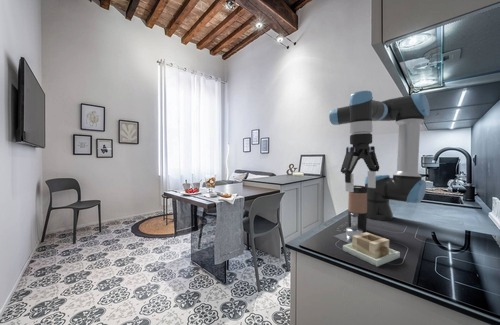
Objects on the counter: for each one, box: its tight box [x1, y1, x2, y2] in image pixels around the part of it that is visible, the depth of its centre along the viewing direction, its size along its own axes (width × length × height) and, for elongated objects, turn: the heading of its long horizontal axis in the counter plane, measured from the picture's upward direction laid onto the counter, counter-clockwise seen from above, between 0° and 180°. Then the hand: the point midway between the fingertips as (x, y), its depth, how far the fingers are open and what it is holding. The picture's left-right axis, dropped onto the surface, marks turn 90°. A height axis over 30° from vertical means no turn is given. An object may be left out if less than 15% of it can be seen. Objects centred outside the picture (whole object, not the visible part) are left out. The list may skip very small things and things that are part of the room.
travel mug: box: [347, 185, 368, 233], centre depth 96 cm, size 8×8×20 cm
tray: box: [342, 243, 401, 267], centre depth 72 cm, size 12×12×2 cm
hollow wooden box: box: [352, 231, 390, 259], centre depth 72 cm, size 8×9×5 cm
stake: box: [333, 213, 364, 244], centre depth 85 cm, size 11×11×11 cm
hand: (361, 189), depth 80 cm, fingers open, 13 cm apart
